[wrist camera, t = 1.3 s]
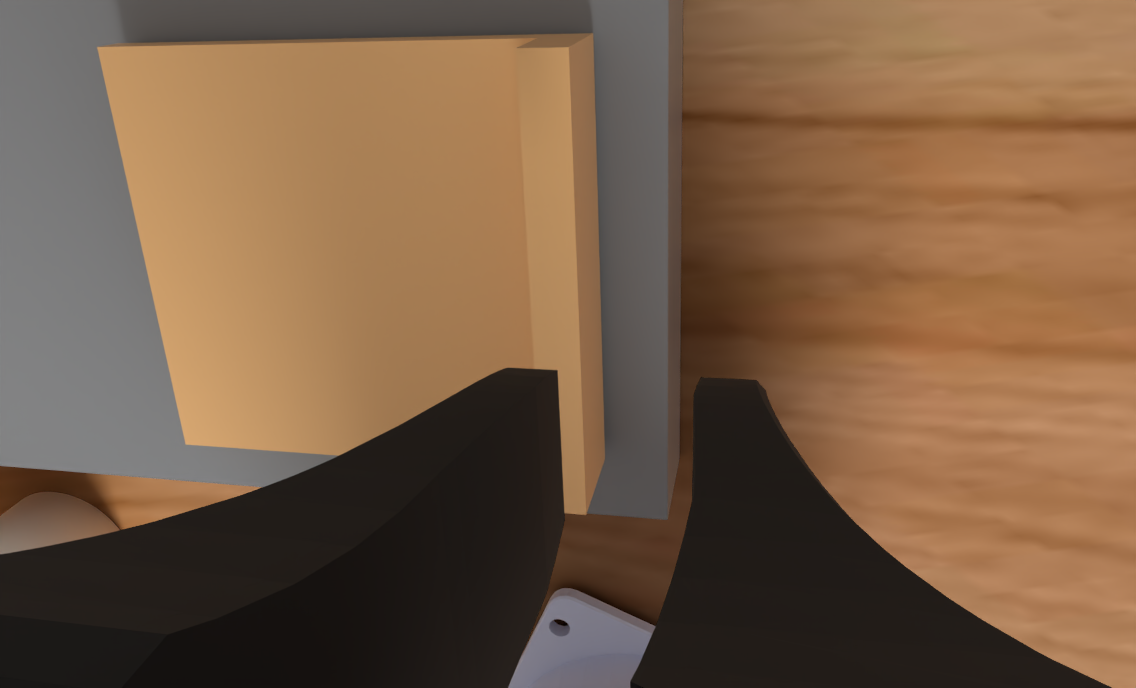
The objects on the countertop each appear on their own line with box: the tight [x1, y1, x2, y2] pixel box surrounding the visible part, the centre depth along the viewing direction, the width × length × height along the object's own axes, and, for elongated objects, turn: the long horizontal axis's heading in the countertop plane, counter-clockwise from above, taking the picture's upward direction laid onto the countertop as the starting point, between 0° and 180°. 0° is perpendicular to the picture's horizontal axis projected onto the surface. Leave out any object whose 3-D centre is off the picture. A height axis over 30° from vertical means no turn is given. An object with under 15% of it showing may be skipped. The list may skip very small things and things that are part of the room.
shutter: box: [97, 33, 605, 515], centre depth 17 cm, size 9×8×2 cm
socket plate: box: [0, 0, 683, 520], centre depth 20 cm, size 19×11×2 cm, turn 92°
